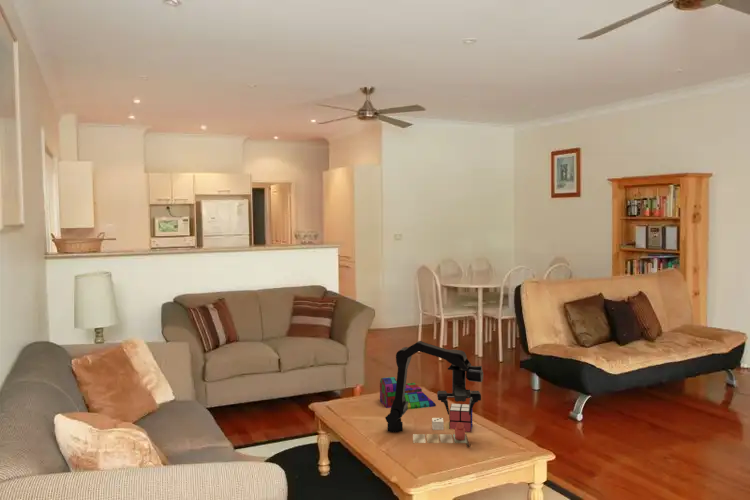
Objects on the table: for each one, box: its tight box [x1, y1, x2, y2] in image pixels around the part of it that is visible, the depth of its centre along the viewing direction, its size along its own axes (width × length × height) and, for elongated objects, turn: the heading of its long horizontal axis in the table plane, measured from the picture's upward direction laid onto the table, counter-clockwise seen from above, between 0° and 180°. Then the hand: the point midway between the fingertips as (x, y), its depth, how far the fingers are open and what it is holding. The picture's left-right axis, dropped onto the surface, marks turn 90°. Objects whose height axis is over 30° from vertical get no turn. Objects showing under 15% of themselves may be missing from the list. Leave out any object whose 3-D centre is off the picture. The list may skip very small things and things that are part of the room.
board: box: [412, 433, 470, 448], centre depth 278 cm, size 25×12×1 cm, turn 88°
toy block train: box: [379, 376, 437, 410], centre depth 329 cm, size 25×17×14 cm
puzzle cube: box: [448, 403, 473, 433], centre depth 293 cm, size 10×10×10 cm
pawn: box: [454, 422, 466, 440], centre depth 277 cm, size 4×4×7 cm
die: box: [431, 417, 445, 431], centre depth 291 cm, size 5×5×5 cm
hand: (458, 414), depth 277 cm, fingers open, 9 cm apart
